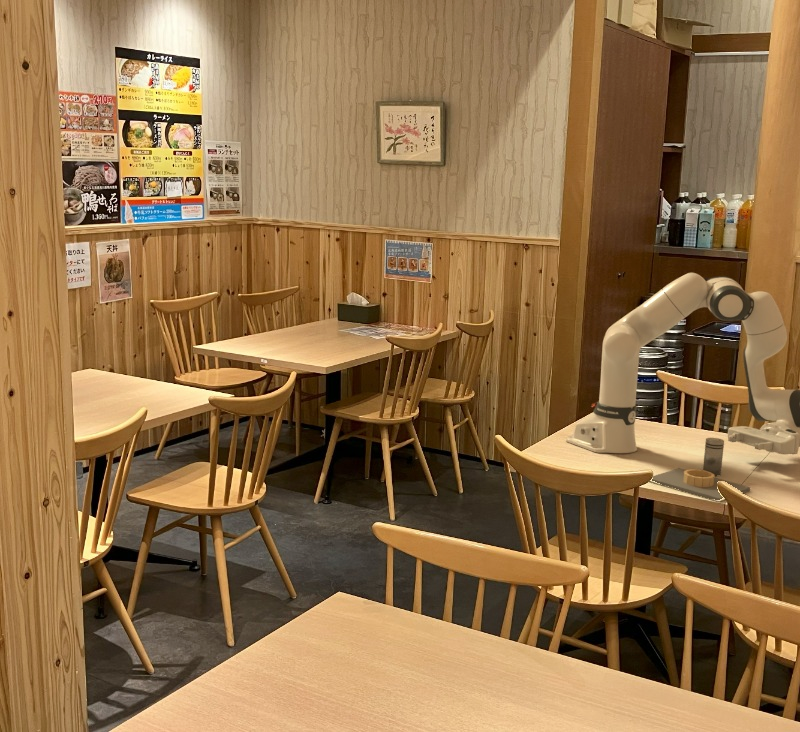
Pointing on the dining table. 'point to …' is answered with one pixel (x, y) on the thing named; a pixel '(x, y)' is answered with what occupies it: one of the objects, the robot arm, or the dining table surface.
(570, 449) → the dining table surface
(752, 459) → the dining table surface
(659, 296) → the robot arm
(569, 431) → the dining table surface
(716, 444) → the piston
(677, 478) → the collar plate
